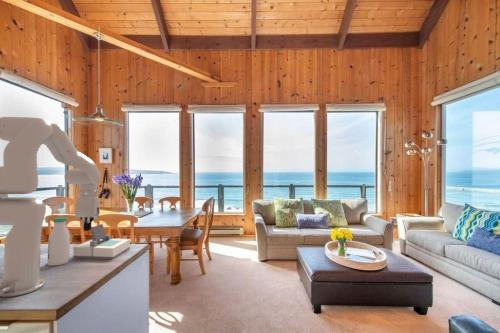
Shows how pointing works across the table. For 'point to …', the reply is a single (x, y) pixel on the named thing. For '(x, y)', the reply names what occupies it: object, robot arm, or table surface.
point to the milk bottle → (59, 243)
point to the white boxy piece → (102, 248)
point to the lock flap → (98, 233)
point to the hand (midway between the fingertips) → (87, 230)
